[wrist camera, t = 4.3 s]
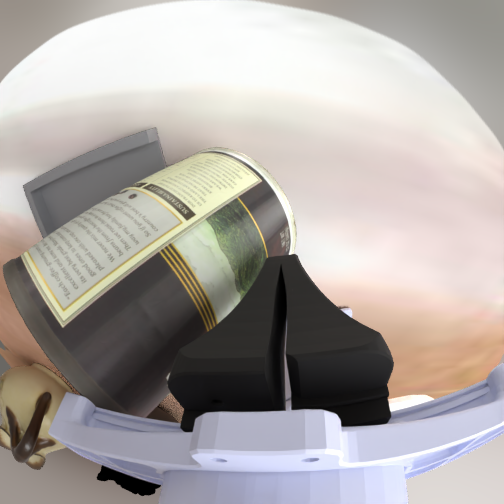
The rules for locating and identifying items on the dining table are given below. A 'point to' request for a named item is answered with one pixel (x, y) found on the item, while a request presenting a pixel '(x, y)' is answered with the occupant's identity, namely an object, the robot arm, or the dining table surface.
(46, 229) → the tray
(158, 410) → the bowl of black rocks
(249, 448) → the robot arm
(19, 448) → the pitcher
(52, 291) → the coffee can
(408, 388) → the dining table surface
